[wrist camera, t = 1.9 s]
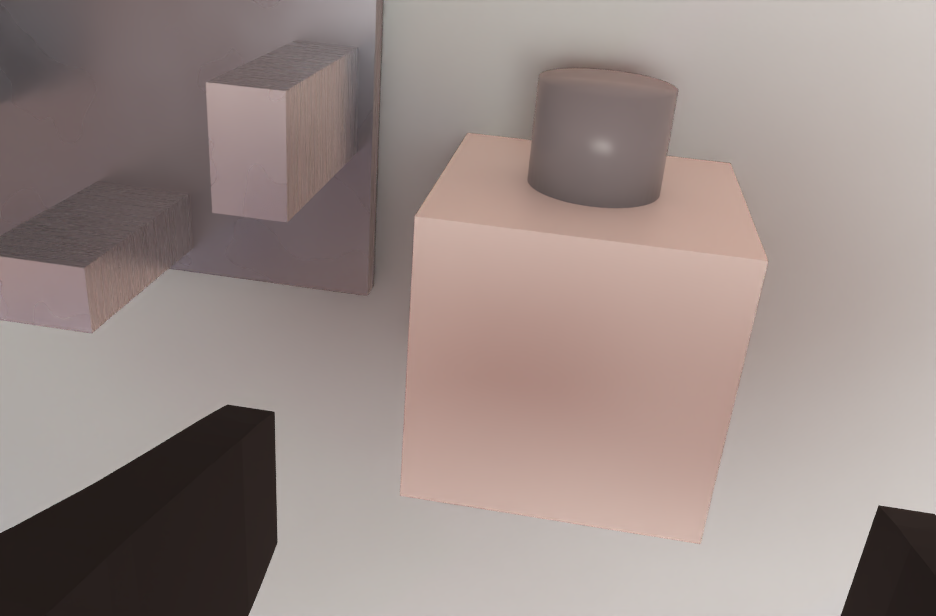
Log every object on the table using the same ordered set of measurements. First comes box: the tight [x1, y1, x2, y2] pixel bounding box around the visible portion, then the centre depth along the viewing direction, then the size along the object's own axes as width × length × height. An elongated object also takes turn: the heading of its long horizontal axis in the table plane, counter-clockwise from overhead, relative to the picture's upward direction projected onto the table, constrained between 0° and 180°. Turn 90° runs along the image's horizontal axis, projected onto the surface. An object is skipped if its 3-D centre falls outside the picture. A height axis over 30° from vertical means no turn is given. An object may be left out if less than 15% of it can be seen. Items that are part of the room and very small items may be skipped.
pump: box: [400, 68, 768, 544], centre depth 16 cm, size 7×5×5 cm
